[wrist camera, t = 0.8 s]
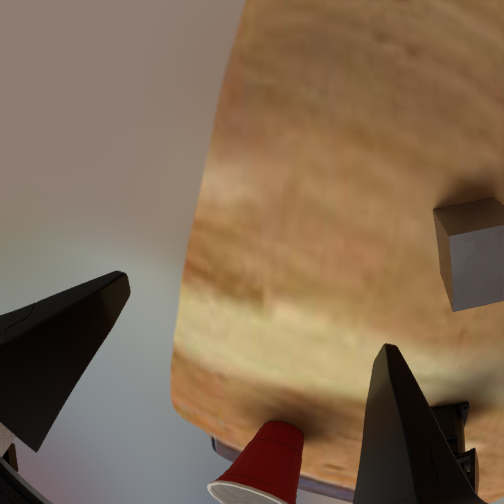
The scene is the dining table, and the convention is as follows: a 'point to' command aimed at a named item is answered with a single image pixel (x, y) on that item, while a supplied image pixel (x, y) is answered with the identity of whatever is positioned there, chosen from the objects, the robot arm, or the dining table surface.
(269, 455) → the plastic cup
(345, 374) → the dining table surface
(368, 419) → the robot arm
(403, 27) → the dining table surface
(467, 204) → the block
